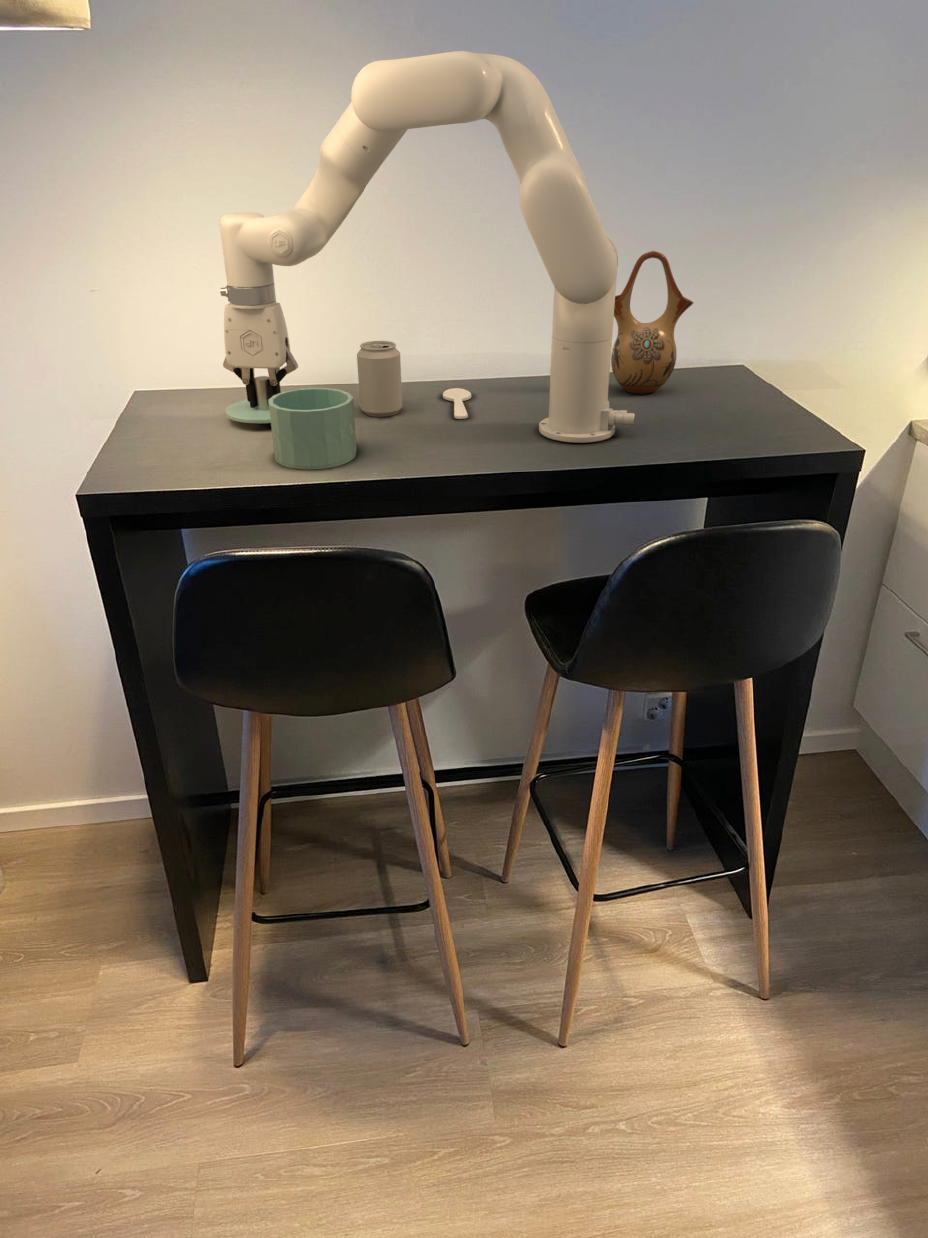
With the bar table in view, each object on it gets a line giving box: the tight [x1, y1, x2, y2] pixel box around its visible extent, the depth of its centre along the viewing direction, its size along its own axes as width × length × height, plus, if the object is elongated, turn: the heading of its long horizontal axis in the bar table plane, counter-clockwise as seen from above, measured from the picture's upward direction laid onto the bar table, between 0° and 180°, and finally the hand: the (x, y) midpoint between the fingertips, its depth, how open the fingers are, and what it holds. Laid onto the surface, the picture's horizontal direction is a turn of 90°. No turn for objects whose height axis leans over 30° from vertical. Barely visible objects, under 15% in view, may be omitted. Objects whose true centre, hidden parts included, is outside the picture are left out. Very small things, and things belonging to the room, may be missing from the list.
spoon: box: [442, 387, 472, 420], centre depth 166 cm, size 5×18×1 cm, turn 3°
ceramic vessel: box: [610, 250, 694, 395], centre depth 167 cm, size 16×9×25 cm, turn 93°
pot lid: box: [225, 375, 271, 424], centre depth 157 cm, size 14×14×6 cm
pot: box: [268, 387, 358, 471], centre depth 141 cm, size 13×13×9 cm
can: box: [356, 340, 403, 418], centre depth 160 cm, size 8×8×12 cm
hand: (265, 405), depth 158 cm, fingers closed on pot lid, 2 cm apart
